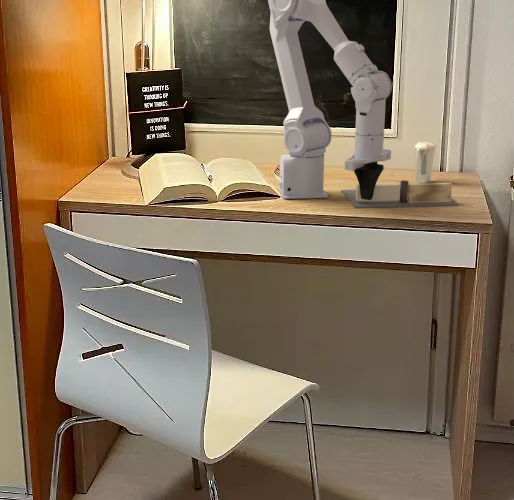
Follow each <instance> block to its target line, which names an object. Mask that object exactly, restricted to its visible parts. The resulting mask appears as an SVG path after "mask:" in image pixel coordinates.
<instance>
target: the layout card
mask: <svg viewBox="0 0 514 500" xmlns="http://www.w3.org/2000/svg"><path fill="white" fill-rule="evenodd" d="M340 192H341V193H342V195H343V196H344V197H345V199H346V200H347V201H348V202H349V203H350V204H351V205H352V207H353V208H354V209H370V208H371V209H372V208H373V209H374V208H376V209H377V208H379V209H381V208H409V207H410V208H414V207H417V208H418V207H453V206H455V207H457V206H460V204H459V203H458V202H457V201H456V200H455V199H453V198H452V197H451V201H434V202H408V201H407V202H406V203H402V202H400V200H384V201H357V200H356V189H340Z"/></svg>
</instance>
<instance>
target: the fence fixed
mask: <svg viewBox="0 0 514 500" xmlns="http://www.w3.org/2000/svg"><path fill="white" fill-rule="evenodd" d="M399 184H400V202H402V203H406V202H407V201H408V202H434V201H451V198H452V191H453V190H452V187H453V183H452V182H429V183H419V182H416V183H409V180H405V179H403V180H400V183H399Z"/></svg>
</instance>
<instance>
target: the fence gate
mask: <svg viewBox="0 0 514 500" xmlns="http://www.w3.org/2000/svg"><path fill="white" fill-rule="evenodd" d="M400 184H401V183H376V185H375V189H374V194H373V198H372V199H371V200H366V199H361V195H360V186H359V184H356V186H355V187H356V188H355V190H356V200H357V201H384V200H400Z"/></svg>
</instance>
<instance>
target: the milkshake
mask: <svg viewBox="0 0 514 500" xmlns="http://www.w3.org/2000/svg"><path fill="white" fill-rule="evenodd" d="M440 140H441V139H440V138H439V139H438V141H440ZM436 146H437V145H434V144H433V143H432V142H429V141H423V142H422V141H419V142H417V143H416V144H415V145H414V152H415V153H414V155H415V182H416V183H431V179H432V172H433V171H432V170H433V164H434V159H435V153H436Z"/></svg>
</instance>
